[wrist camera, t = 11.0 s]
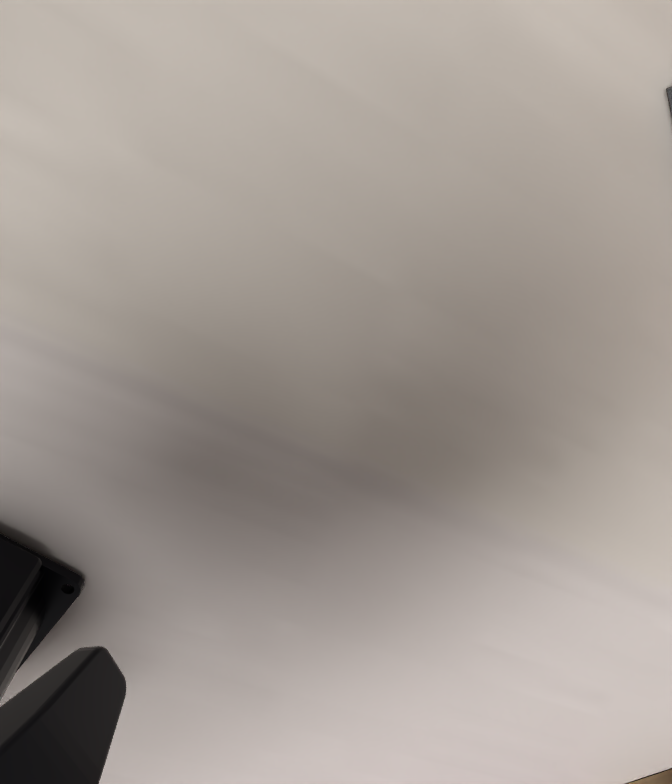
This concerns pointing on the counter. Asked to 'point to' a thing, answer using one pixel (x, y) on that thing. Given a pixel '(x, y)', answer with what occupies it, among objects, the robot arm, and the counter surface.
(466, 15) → the counter surface
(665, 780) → the open box
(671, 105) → the mat
